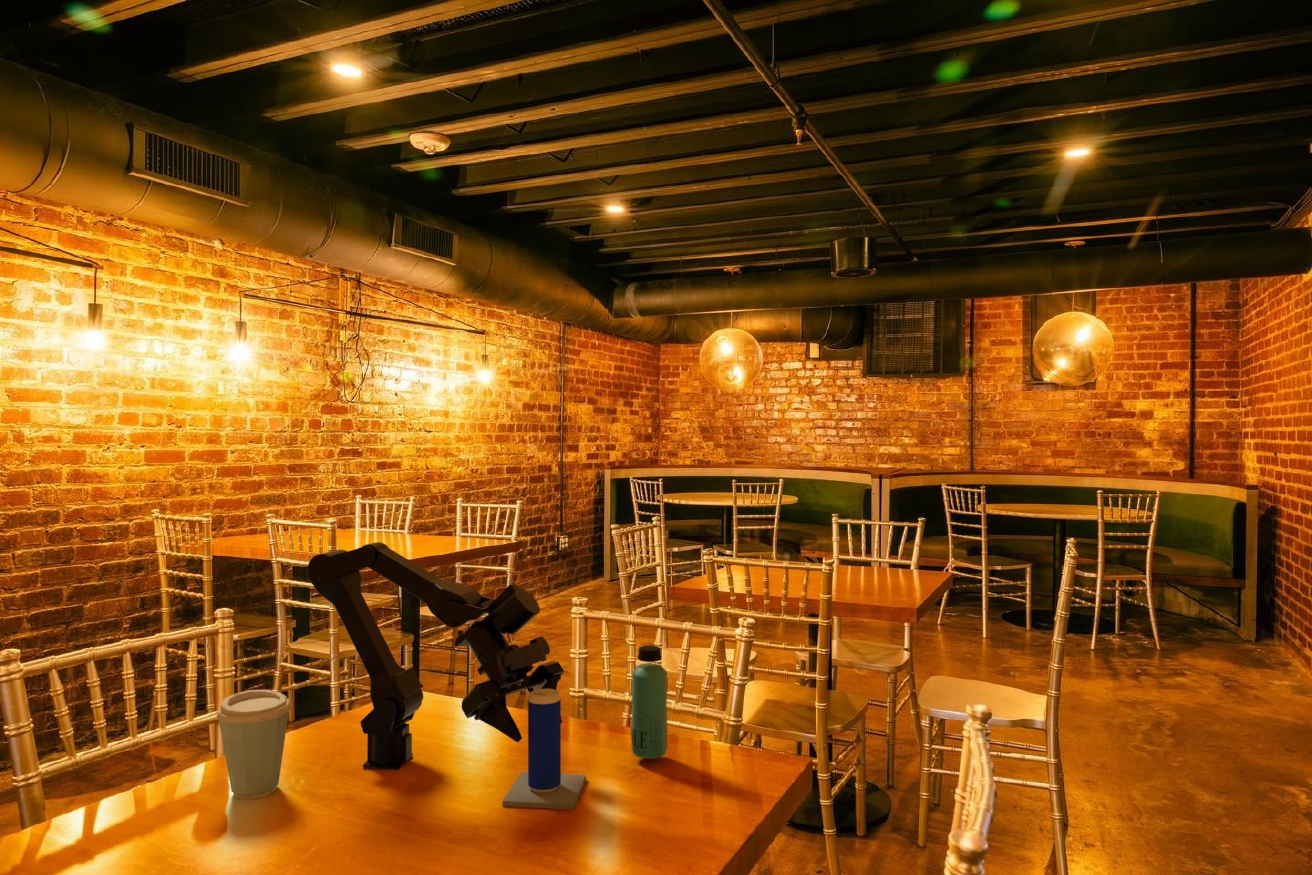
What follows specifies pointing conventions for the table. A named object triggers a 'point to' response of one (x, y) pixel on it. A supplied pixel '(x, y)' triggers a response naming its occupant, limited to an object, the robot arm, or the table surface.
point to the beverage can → (544, 740)
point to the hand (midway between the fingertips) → (540, 732)
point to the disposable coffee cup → (254, 740)
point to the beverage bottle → (649, 705)
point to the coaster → (556, 799)
